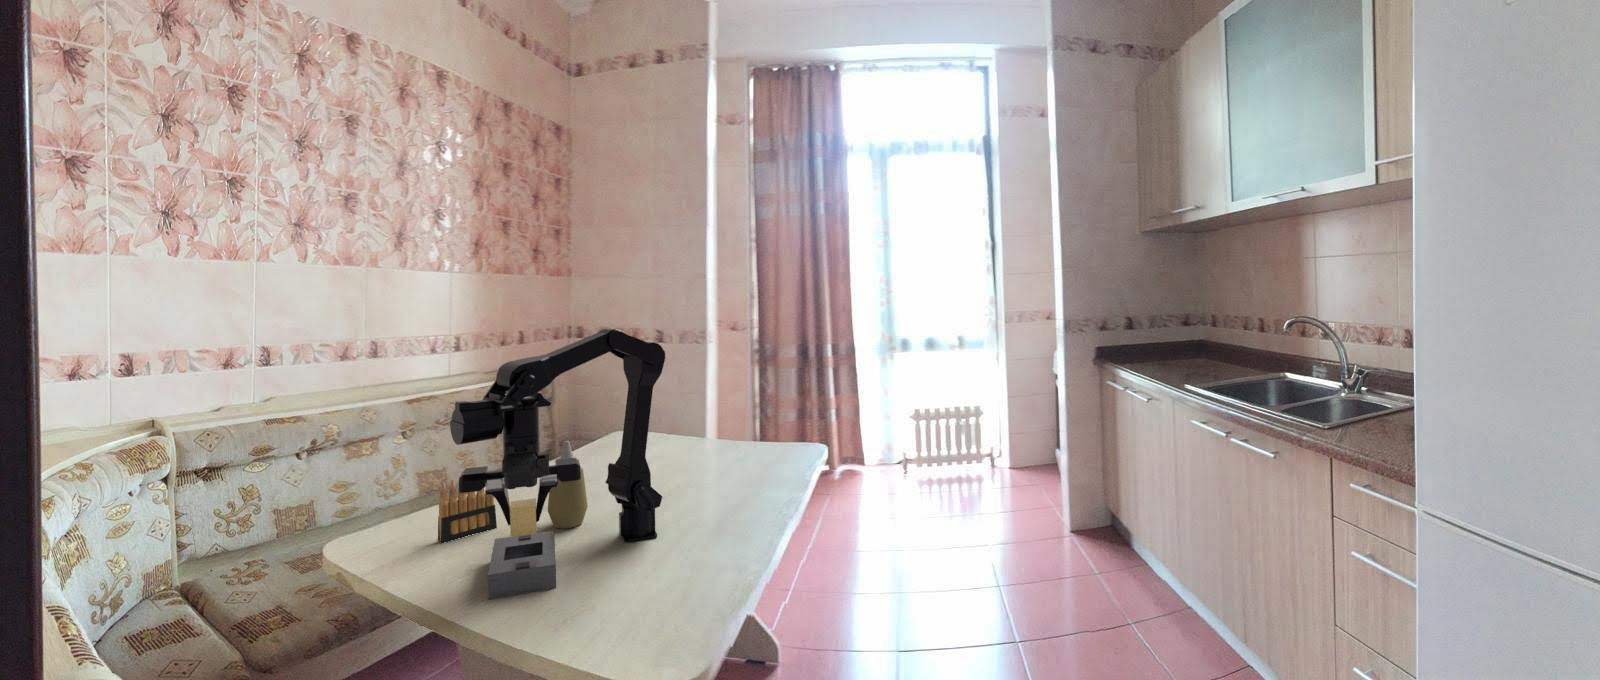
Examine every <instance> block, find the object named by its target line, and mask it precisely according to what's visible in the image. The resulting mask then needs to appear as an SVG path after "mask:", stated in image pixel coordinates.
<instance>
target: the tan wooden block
mask: <svg viewBox="0 0 1600 680" xmlns="http://www.w3.org/2000/svg"><path fill="white" fill-rule="evenodd" d="M536 507H537V497H535V498H528V499H521V500H512V501H510V525H509V526H510V527H509V528H510V537H517V536H524V535H531V534H536V533H538V532H537V526H538V524H537V523H538V522H536Z"/></svg>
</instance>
